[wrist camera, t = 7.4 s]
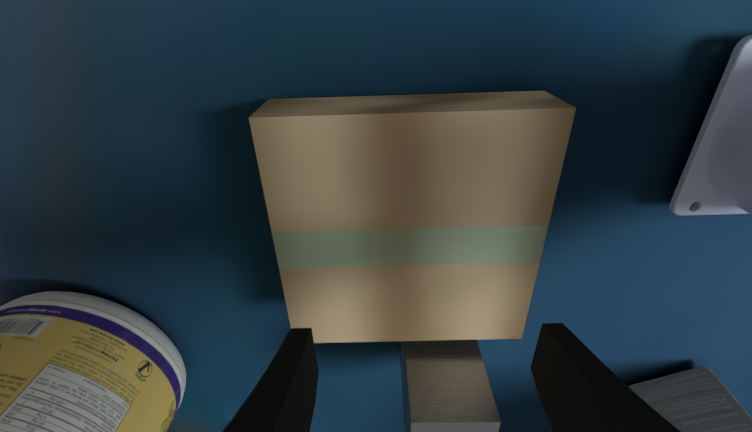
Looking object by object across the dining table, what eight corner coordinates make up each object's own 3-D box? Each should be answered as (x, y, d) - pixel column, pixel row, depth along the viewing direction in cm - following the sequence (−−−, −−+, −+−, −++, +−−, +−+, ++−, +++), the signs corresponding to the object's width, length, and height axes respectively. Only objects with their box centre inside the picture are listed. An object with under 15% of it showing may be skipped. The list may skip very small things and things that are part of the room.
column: (467, 309, 23) (501, 422, 17) (460, 354, 25) (487, 469, 19) (401, 309, 23) (411, 422, 17) (399, 354, 25) (407, 469, 19)
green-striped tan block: (544, 90, 16) (576, 107, 14) (504, 299, 22) (521, 338, 20) (268, 98, 16) (248, 117, 14) (303, 303, 22) (294, 343, 20)
